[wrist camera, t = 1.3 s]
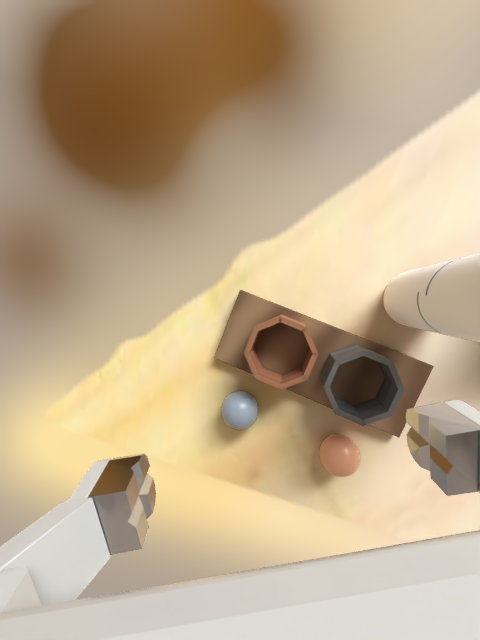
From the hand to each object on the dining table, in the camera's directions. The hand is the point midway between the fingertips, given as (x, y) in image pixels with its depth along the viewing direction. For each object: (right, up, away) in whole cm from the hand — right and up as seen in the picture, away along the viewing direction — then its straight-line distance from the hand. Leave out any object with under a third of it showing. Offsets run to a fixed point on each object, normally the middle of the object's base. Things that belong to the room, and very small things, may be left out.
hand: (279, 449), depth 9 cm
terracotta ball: (+12, -13, +30) cm, 34 cm away
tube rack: (+9, -1, +32) cm, 33 cm away
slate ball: (-1, -8, +31) cm, 32 cm away
